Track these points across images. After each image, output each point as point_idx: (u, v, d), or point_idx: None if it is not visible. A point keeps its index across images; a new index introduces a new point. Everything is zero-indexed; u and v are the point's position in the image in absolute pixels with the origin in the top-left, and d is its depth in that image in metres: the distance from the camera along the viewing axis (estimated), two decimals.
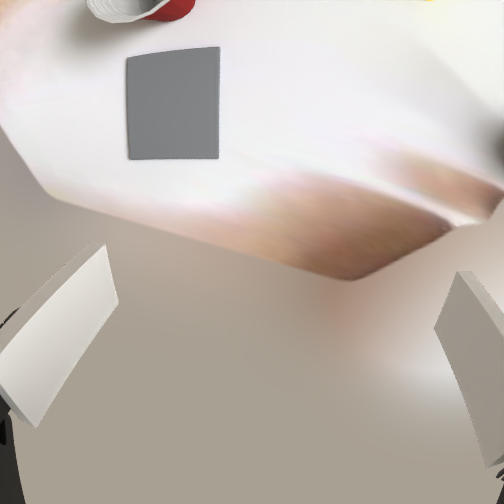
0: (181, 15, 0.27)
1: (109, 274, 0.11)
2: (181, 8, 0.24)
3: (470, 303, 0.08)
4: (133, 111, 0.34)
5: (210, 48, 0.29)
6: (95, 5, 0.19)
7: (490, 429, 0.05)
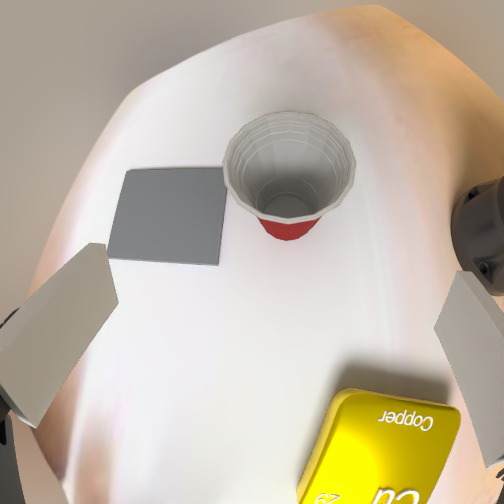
0: None
1: (109, 274, 0.11)
2: None
3: (470, 303, 0.08)
4: (169, 174, 0.37)
5: (216, 254, 0.33)
6: (266, 124, 0.26)
7: (490, 429, 0.05)
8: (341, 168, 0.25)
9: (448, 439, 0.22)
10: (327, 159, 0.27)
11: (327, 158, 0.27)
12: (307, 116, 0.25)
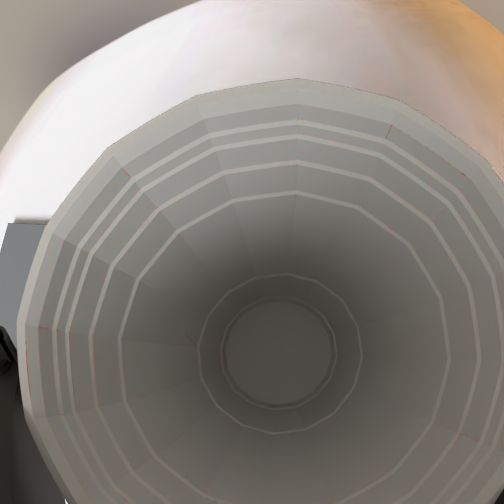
0: None
1: None
2: (205, 410, 0.10)
3: None
4: None
5: None
6: (203, 138, 0.06)
7: None
8: (484, 342, 0.05)
9: None
10: (423, 276, 0.07)
11: (424, 274, 0.07)
12: (380, 107, 0.05)
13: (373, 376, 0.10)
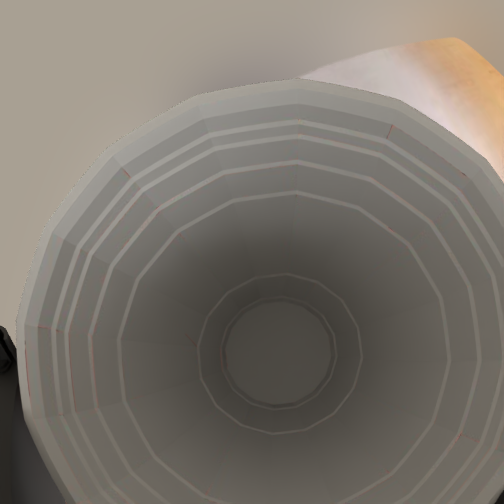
0: None
1: None
2: (205, 411, 0.10)
3: None
4: None
5: None
6: (203, 137, 0.06)
7: None
8: (485, 342, 0.05)
9: None
10: (423, 276, 0.07)
11: (425, 274, 0.07)
12: (381, 107, 0.05)
13: (373, 376, 0.10)
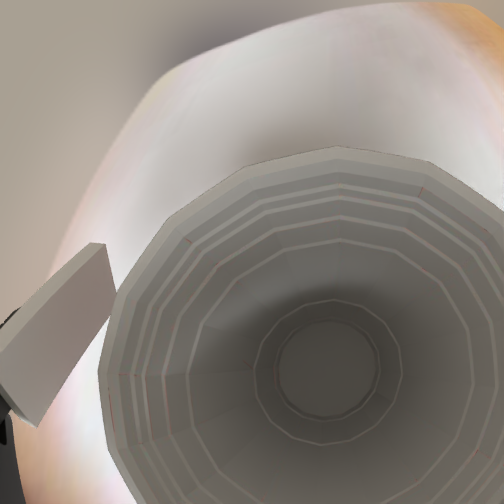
0: None
1: (109, 274, 0.11)
2: None
3: None
4: None
5: None
6: (254, 203, 0.07)
7: None
8: (501, 372, 0.05)
9: None
10: (452, 310, 0.07)
11: (454, 309, 0.07)
12: (412, 171, 0.06)
13: (411, 392, 0.10)
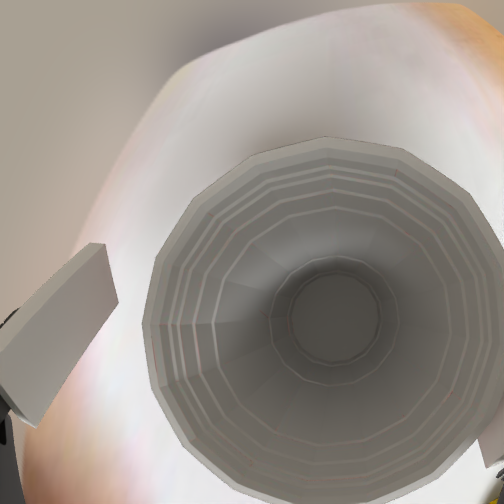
0: None
1: (109, 274, 0.11)
2: None
3: None
4: None
5: None
6: (262, 181, 0.09)
7: (490, 429, 0.05)
8: (471, 324, 0.07)
9: None
10: (432, 268, 0.09)
11: (433, 267, 0.09)
12: (387, 157, 0.07)
13: (405, 340, 0.12)
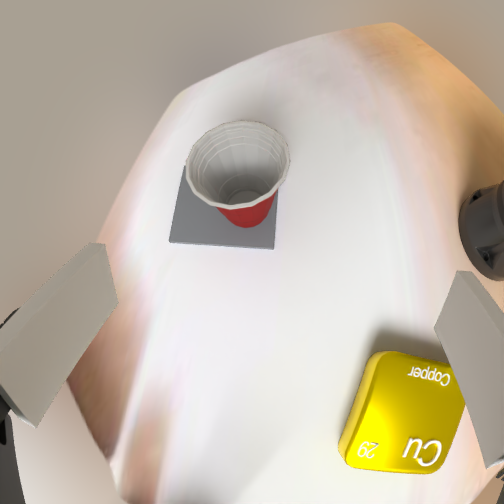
0: None
1: (109, 274, 0.11)
2: (220, 211, 0.37)
3: (470, 303, 0.08)
4: None
5: (272, 240, 0.39)
6: (224, 131, 0.32)
7: (490, 429, 0.05)
8: (281, 166, 0.31)
9: (462, 395, 0.28)
10: (273, 159, 0.33)
11: (273, 158, 0.33)
12: (256, 124, 0.31)
13: None
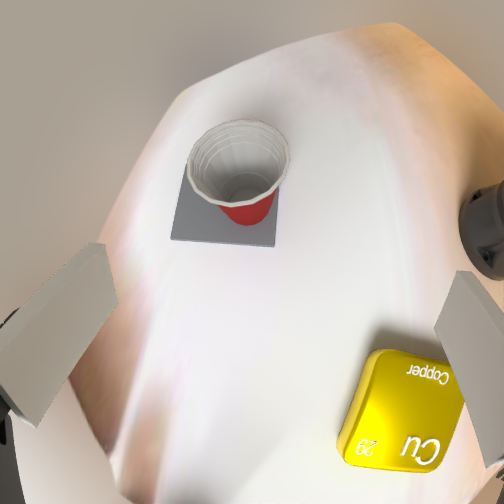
0: None
1: (109, 274, 0.11)
2: (221, 209, 0.37)
3: (470, 303, 0.08)
4: None
5: (273, 237, 0.40)
6: (225, 130, 0.33)
7: (490, 429, 0.05)
8: (282, 164, 0.31)
9: (461, 394, 0.28)
10: (274, 158, 0.33)
11: (274, 157, 0.33)
12: (257, 123, 0.31)
13: None
